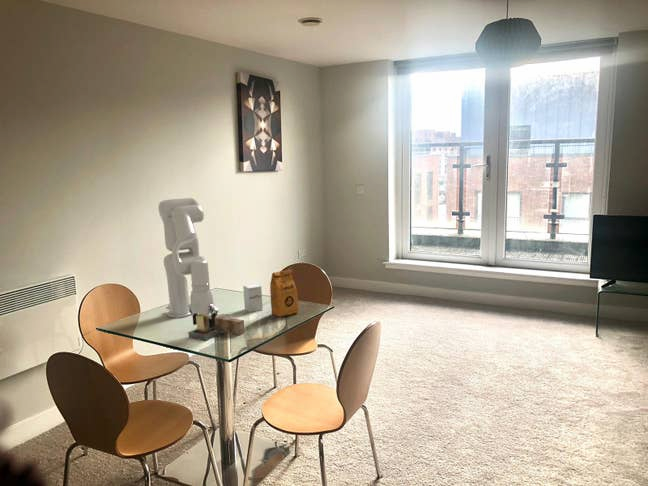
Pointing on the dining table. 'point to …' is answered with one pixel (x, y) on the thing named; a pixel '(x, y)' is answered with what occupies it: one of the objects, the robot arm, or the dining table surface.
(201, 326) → the block
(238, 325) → the brown plank
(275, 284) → the coffee package
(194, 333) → the grey square tray
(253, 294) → the supplement box
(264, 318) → the dining table surface
